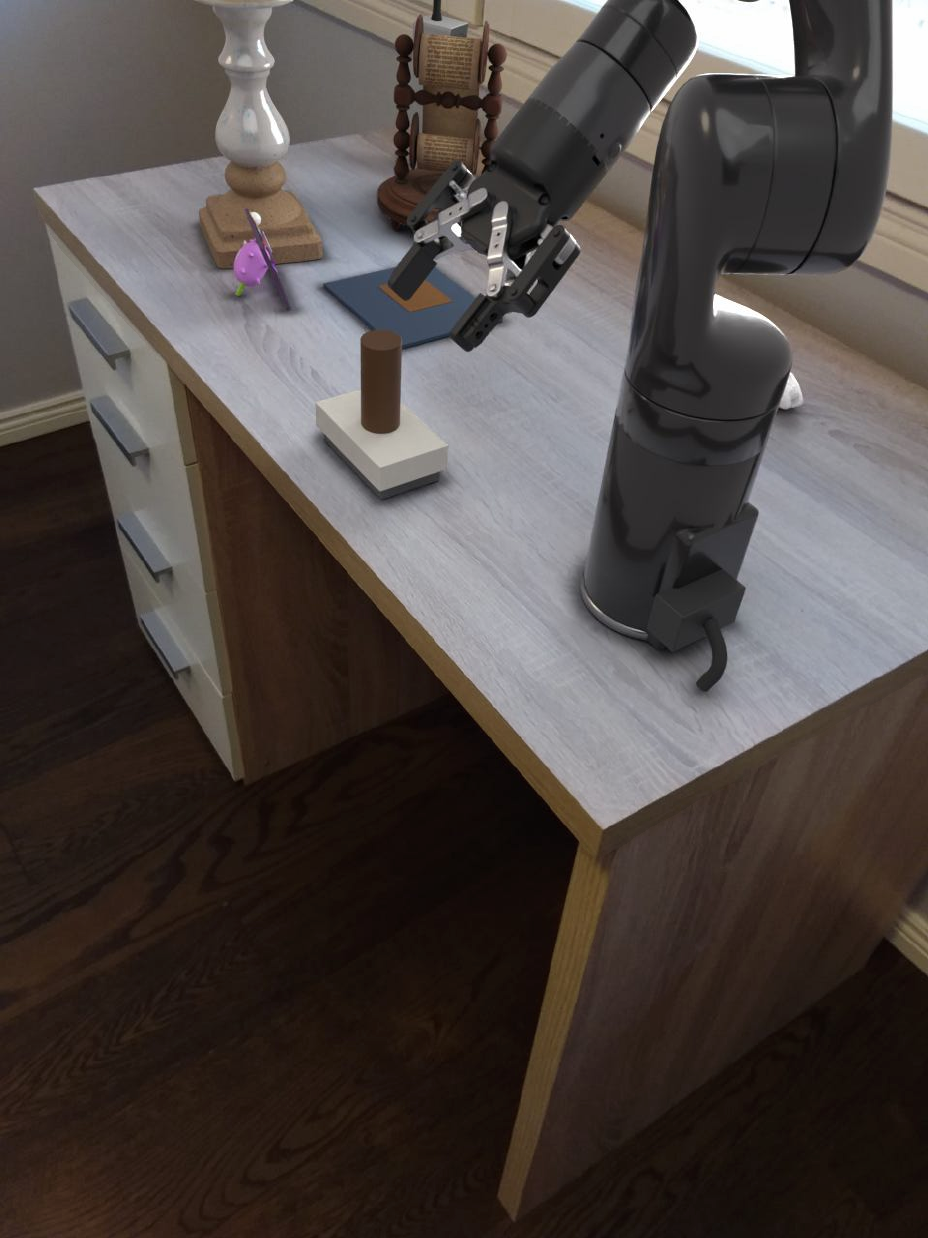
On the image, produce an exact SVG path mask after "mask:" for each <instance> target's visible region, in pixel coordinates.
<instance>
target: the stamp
mask: <svg viewBox="0 0 928 1238" xmlns="http://www.w3.org/2000/svg"><path fill="white" fill-rule="evenodd" d="M359 345H360V348H359V349H360V389H356V390H353V391H350V392H346V393H343V394H339V395H336V396H332V397H329V398H325V399H322V400H318V401H315V403H314V404H315V426H316V427H317V428H318V429H319V430H320V431H321V432H322V434H323V440H324V442H325V443H327V444H328V445H329V447H330V448H331V449H332V450H333V451H334V452H335V453H336V454H337V455H338V456H339V458H341V459H342V460H343V461H344V462H345V463H346V465H348V466H349V468H350V469H351V470H352V471H353V472H354V473H355V474H356V475H357V476H358V477H359V479H361V480H362V481H363V482H364V483H365V484H366V485H367V486H368V487H369V489H371V490H372V492H373V493H374V494H375V495H376V496H377V497H378V498H379V499H380V500H381V501H383V500H387V499H388V498H392V497H394V496H397V495H400V494H403V493H406V492H409V491H411V490H414V489H417V488H420V487H423V486H426V485H429V484H432V483H435V482H438V481H440V472H442V471H446V470H447V468H448V456H449V445H448V444H447V442H446V441H444V440H443V439H442V438H441V437H440V436H439V435H438V434H437V433H436V432H434V431H433V430H432V429H431V428H430V427H429V426H428V425H427V424H426V423H425V422H424V421H422V420H421V419H420V418H419V417H418V416H417V415H415V413H414V412H413V411H411V410H410V409H409V407H407V406H406V405H405V404H404V403H403V402H402V401H401V399H402V361H403V359H402V358H403V353H402V352H403V349H402V339H401V337H400V336H399V335H398V334H396V333H395V332H392V331H388V330H372V329H371V330H369V331H365V332H364V333H363V334H362V335H361V336H360V344H359Z"/></svg>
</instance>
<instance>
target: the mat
mask: <svg viewBox="0 0 928 1238" xmlns="http://www.w3.org/2000/svg"><path fill="white" fill-rule="evenodd" d="M395 268H396V266H394V267H390V268H385V269H381V270H378V271H372V272H368V273H364V274H359V275H355V276H350V277H346V278H342V279H337V280H333V281H328V282H325V283H324V282H323V285H322V287H323V289H325V290H326V291H327V292H328V293H329V294H330V295H332V296H333V297H334V298H335V299H336V300H337V301H339V302H340V303H341V304H342V305H343V306H345V308H346V309H348V310H349V311H350V312H351V313H353V314H354V315H355V316H356V317H357V318H358V319H359V320H361V321H362V322H363V323H364V324H366V326H368V327H369V328H370V329H371V331H372V330H388V331H392V332H395V333H396V334H398V335H399V336H400V337H401V339H402V350H404V349H407V348H411V347H415V346H418V345H422V344H426V343H430V342H434V341H437V340H441V339H445V338H448V337H449V333H450V331H451V329H452V328H453V327H454V326H455V324H456V323H457V322H458V320H459V319H460V318H461V317H462V315H463V314H464V313H465V312H466V310H467V309H468V308H469V306H470V305H471V304H472V303H473V301H474V300H475V299H476V298H477V297H475V296H474V295H472V294H471V293H470V292H469V291H468V290H466V289H465V288H464V287H462V286H460V285H459V284H458V283H457V282H455V281H454V280H453V279H451V278H450V277H448V276H447V275H446V274H445V273H444V272H442V271H440V269H439V268H437V267H436V266H435V267H434V269H433V270H432V271H431V273H430V274H429V275H428V277H427V278H426V279H425V280H424V282H423V283H422V284H421V286H420V287H419V288H418V290H417V291H416V292H415V293H414V295H413V296H412V297H411V299H409V300H407V301H404V300H403V299H402V298H400V297H399V296H398V295H397V294H396V293H394V292H393V291H392V290H391V289H390V288H389V287H388V280H389V279H390V276H391V274H392V272H393V270H394V269H395ZM503 320H504V318H503V317H502V318H501V320H500V321H499V322H498V323H497V324H500V323H502V322H503Z"/></svg>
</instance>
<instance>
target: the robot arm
mask: <svg viewBox="0 0 928 1238" xmlns="http://www.w3.org/2000/svg"><path fill="white" fill-rule="evenodd" d="M734 1H735V2H738V3H744V4H749V5H750V4H758V3H762V2H764V1H766V0H734ZM787 4H788V8H789V15H790V24H791V32H792V47H793V68H794V69H793V71H794V75H779V74H778V75H775V74H773V75H772V74H753V73H751V74H750V73H749V74H748V73H704V74H697V75H696V76H693V77H691V78H689V79H687V81H685V82H684V83H683V84H682V85H681V86H680V87H679V89H678V90H677V91H676V93H675V94H674V96H673V98H672V100H671V102H670V103H669V105H668V107H667V110H666V113H665V116H664V118H663V121H662V124H661V128H660V132H659V136H658V140H657V145H656V150H655V155H654V162H653V168H652V173H651V174H652V175H651V181H650V188H649V197H648V203H647V212H646V220H645V228H644V235H643V241H642V247H641V248H642V249H641V256H640V262H639V268H638V274H637V278H636V284H635V290H634V295H633V296H634V297H633V302H632V309H631V311H632V312H631V322H630V330H629V331H630V332H629V338H628V339H629V340H628V345H627V350H626V351H627V352H626V356H625V360H624V361H625V362H624V367H623V371H622V375H621V382H620V387H619V392H618V396H617V403H616V406H615V407H616V408H615V411H614V417H613V420H612V421H613V422H612V427H611V432H610V438H609V442H608V446H607V452H606V458H605V462H604V469H603V473H602V478H601V483H600V488H599V494H598V498H597V503H596V509H595V515H594V519H593V525H592V530H591V534H590V540H589V546H588V551H587V557H586V561H585V565H584V568H583V570H582V574H581V579H580V594H581V597H582V600H583V603H584V604H585V606H586V607H587V609H588V610H589V611H590V613H591V614H592V615H593V616H594V617H595V618H596V619H597V620H598V621H600V622H601V623H602V624H604V625H605V626H606V627H608V628H610V629H611V630H613V631H615V632H618V633H619V634H622V635H625V636H628V637H631V638H634V639H638V640H642V641H646V642H647V643H649V644H650V645H651V646H652V647H653V648H654V649H656V650H657V651H661V650H663V649H665V648H667V649H668V650H669V651H671V652H672V653H675V652H676V651H679V650H681V649H682V648H684V647H686V646H689V645H690V644H693V643H694V642H697V641H699V640H701V639H702V638H705V637H706V638H707V640H708V643H709V646H710V649H711V658H712V659H711V664H710V667H709V668H708V669H707V670H706V671H705V672H704V673H703V674H701V676H700V677H699V678H698V679H697V681H696V682H695V686H696V688H697V689H698V690H700V691H701V692H705V693H707V692H709V691H710V690H711V689H712V688H713V687H714V686H715V685H716V684H717V683H718V682H719V681H720V680H721V679H722V677H723V675H724V673H725V671H726V669H727V668H726V667H727V665H728V651H727V649H728V648H727V644H726V641H725V639H724V636H723V633H722V630H721V629H723V628H725V627H727V626H729V625H731V624H734V623H735V621H736V618H737V616H738V612H739V610H740V607H741V604H742V601H743V598H744V595H745V592H746V589H747V587H746V586H744V584H743V583H741V582H740V581H738V578H739V574H740V571H741V568H742V565H743V563H744V559H745V557H746V554H747V551H748V548H749V544H750V542H751V539H752V535H753V533H754V530H755V527H756V524H757V521H758V518H759V515H760V513H759V508H758V507H756V506H755V505H753V504H752V503H751V502H749V501H750V498H751V495H752V491H753V488H754V485H755V482H756V478H757V475H758V472H759V469H760V466H761V462H762V460H763V457H764V454H765V450H766V448H767V444H768V442H769V439H770V435H771V432H772V430H773V426H774V424H775V420H776V417H777V414H778V412H779V411H778V410H779V409H780V408H779V405H780V402H781V399H782V396H783V394H784V391H785V387H786V384H787V381H788V378H789V375H790V372H791V371H792V366H793V350H792V349H793V348H792V346H791V344H790V341H789V340H788V337H787V336H786V335H785V333H784V332H783V331H782V330H781V329H780V328H779V327H778V326H777V325H776V324H775V323H774V322H772V321H771V320H770V319H768V318H767V317H766V316H764V315H763V314H761V313H759V312H757V311H755V310H753V309H751V308H749V307H748V306H745V305H742V304H740V303H737V302H735V301H733V300H730V299H729V298H726V297H723V296H722V295H719V294H717V293H716V290H717V283H718V281H719V278H720V277H721V275H737V276H739V275H741V276H742V275H748V276H752V275H753V276H823V275H833V274H837V273H841V272H843V271H845V270H847V269H849V268H850V267H852V266H853V265H854V264H856V262H857V261H858V260H859V259H860V258H861V256H863V254H864V253H865V251H866V250H867V248H868V246H869V245H870V243H871V242H872V239H873V237H874V234H875V233H876V229H877V226H878V224H879V221H880V218H881V215H882V211H883V208H884V203H885V200H886V199H885V198H886V194H887V188H888V183H889V176H890V168H891V161H892V160H891V158H892V145H893V144H892V143H893V115H894V114H893V112H894V109H893V107H894V105H893V104H894V103H893V102H894V101H893V99H894V98H893V97H894V76H893V75H894V66H893V65H894V63H893V62H894V60H893V59H894V57H893V56H894V55H893V53H894V52H893V50H894V47H893V46H894V45H893V43H894V42H893V40H894V39H893V38H894V37H893V36H894V32H893V31H894V30H893V25H894V24H893V23H894V22H893V21H894V20H893V19H894V18H893V15H894V14H893V8H894V7H893V5H894V4H893V0H787ZM698 47H699V30H698V27H697V24H696V22H695V20H694V18H693V16H692V14H691V13H690V12H689V10H688V8H687V7H686V6H685V5H684V4H683V3H682V1H680V0H606V2H605V3H604V4H603V5H602V7H601V8H600V9H599V10H598V12H597V14H596V15H594V17H593V19H592V20H591V21H590V23H589V24H588V25H587V27H586V28H585V29H584V31H582V33H581V34H580V36H579V37H578V38H577V40H576V41H575V42H574V44H572V46H571V47H570V48H569V49H568V50H567V51H566V52H565V53H564V54H563V55H562V56H561V57H560V58H559V59H558V60H557V61H556V62H555V63H554V64H553V66H551V68H550V69H549V70H548V72H546V74H545V75H544V76H543V78H542V79H541V80H540V82H539V83H538V84H537V86H536V87H535V88H534V89H533V91H531V93H530V94H529V96H528V98H527V99H526V100H525V101H524V103H523V104H521V107H520V108H519V109H518V111H517V112H516V113H515V115H514V116H513V117H512V118H511V120H510V121H509V123H508V124H507V125H506V126H505V128H504V129H503V130H502V132H500V134H499V135H498V136H497V138H496V139H495V142H494V143H493V145H492V146H491V149H490V156H491V164H490V167H489V168H488V169H487V170H486V171H485V172H484V173H483V174H482V175H481V174H480V176H479V177H477V178H476V177H474V176H473V175H472V174H471V173H470V171H469V170H468V169H467V168H466V167H465V166H464V164H463V163H462V162H461V161H459V160H456V161H454V162H453V163H452V164H451V165H450V166H449V167H448V168H447V170H446V171H445V172H444V173H443V174H442V176H441V177H440V178H439V179H438V181H437V182H436V183H435V184H434V185H433V187H432V188H431V189H430V190H429V192H428V193H427V194H426V195H425V197H424V198H423V199H422V200H421V201H420V203H419V204H418V205H417V206H416V208H415V209H414V210H413V211H412V212H411V214H410V215H409V216H408V218H407V225H408V226H407V227H409V228H410V230H411V231H412V233H413V243H412V245H411V246H410V248H409V250H407V252H406V253H405V254H404V256H403V257H402V258H401V260H400V261H399V262H398V263H397V265H396V266H395V267H396V268H395V269H394V270H393V272H392V274H391V276H390V279H389V280H388V287H389V288H390V289H391V290H392V291H393V292H394V293H396V294H397V295H398V296H399V297H400V298H402V299H403V300H404V301H407V300H409V299H411V297H412V296H413V295H414V293H415V292H416V291H417V290H418V288H419V287H420V286H421V284H422V283H423V282H424V280H425V279H426V278H427V277H428V275H429V274H430V273H431V271H432V270H433V269H434V267H435V268H436V266H437V265H438V262H437V260H438V261H439V260H440V259H442V258H444V257H447V256H449V255H451V254H453V253H454V252H461V253H462V252H463V253H465V252H468V251H470V250H471V249H473V250H474V251H475V252H477V253H478V254H480V255H483V256H485V257H486V261H487V262H486V263H487V265H488V275H487V281H486V287H485V295H484V294H483V293H481V292H479V293H478V294H477V296H476V297H475V298H476V299H475V300H474V301H473V303H472V304H471V305H470V306H469V308H468V309H467V310H466V312H465V313H464V314H463V315H462V317H461V318H460V319H459V320H458V322H457V323H456V324H455V326H454V327H453V328H452V329H451V331H450V333H449V336H448V337H449V339H451V340H452V341H453V343H455V344H456V345H457V346H458V347H459V348H460V349H462V351H464V352H466V353H470V352H472V351H473V350H474V349H476V348H478V347H479V346H480V345H482V344H483V342H485V340H486V339H487V337H488V336H489V335H490V333H492V331H493V330H494V328H495V327H496V326H497V325H498V324H499V323H498V322H499V321H500V320H501V318H503V317H504V316H506V315H510V314H512V313H517V314H521V315H523V316H524V317H525V318H526V319H531V318H533V317H534V316H535V315H537V313H538V312H539V310H540V309H541V308H542V307H543V305H544V304H545V302H546V301H547V300H548V298H549V297H550V296H551V295H552V293H553V291H554V290H555V289H556V288H557V286H558V285H559V283H560V282H561V281H562V279H563V278H564V276H565V275H566V274H567V272H568V271H569V270H570V268H571V267H572V266H573V264H574V263H575V261H576V260H577V259H578V257H579V256H580V254H581V250H582V249H581V247H580V245H579V243H578V242H577V241H576V239H575V238H574V237H573V235H572V234H571V233H570V232H569V231H567V229H566V228H565V227H564V226H563V225H561V224H558V223H560V222H568V221H570V220H572V219H573V217H574V216H575V214H577V212H578V211H579V210H580V208H581V207H582V206H583V205H584V203H585V202H586V201H587V199H588V198H590V196H591V194H592V193H593V192H594V191H595V189H596V188H597V187H598V186H599V185H600V183H601V182H602V181H603V179H604V178H605V177H606V175H608V173H609V172H610V170H611V169H612V168H613V166H615V164H617V162H618V161H619V159H620V158H621V157H622V155H623V154H624V153H625V151H627V149H628V148H629V146H630V145H631V143H632V142H633V141H634V140H635V138H636V136H637V134H638V133H639V131H640V129H641V127H642V126H643V124H644V123H645V121H646V119H647V118H648V117H649V116H650V113H652V112H653V110H654V109H655V108H656V106H658V104H659V103H660V102H661V100H662V99H663V98H664V97H665V95H666V94H667V92H669V90H670V89H671V87H672V86H673V85H674V84H675V82H676V81H677V80H678V78H679V77H680V76H681V75H682V73H683V72H685V70H686V68H687V67H688V65H689V64H690V63H691V61H692V59H693V58H694V56H695V55H696V51H697V48H698ZM436 207H438V209H439V211H438V213H437V215H436V216H435V217H434V218H433V219H432V221H431V222H430V223H428V222H427V221H426V220H425V219H426V218H427V217H428V216H429V214H430V213H431V212H432V211H433V210H434V208H436ZM460 221H461V227H460V226H459V225H458V224H457V223H458V222H460ZM441 237H444V238H442V239H439V238H441ZM532 252H534V253H533V254H532V255H531V253H532ZM536 281H537V282H536ZM535 283H536V284H535ZM534 284H535V286H534V287H533V285H534ZM532 287H533V288H532ZM530 289H532V290H531V291H530ZM529 291H530V292H529ZM528 292H529V293H528Z"/></svg>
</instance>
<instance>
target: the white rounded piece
mask: <svg viewBox="0 0 928 1238" xmlns="http://www.w3.org/2000/svg"><path fill="white" fill-rule="evenodd" d="M801 389H802V388H801V385H800V384H799V382H798V381H797V379H796V377H795V375H794V374H793V373H792V372H791V371H790V375H789V378H788V381H787V384H786V387H785V391H784V394H783V396H782V399H781V402H780V405H779V408H778V409H782V410H789V409H792V408H798V407H801V406H802V405H803V403H804V397H803V393H802V390H801Z"/></svg>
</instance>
